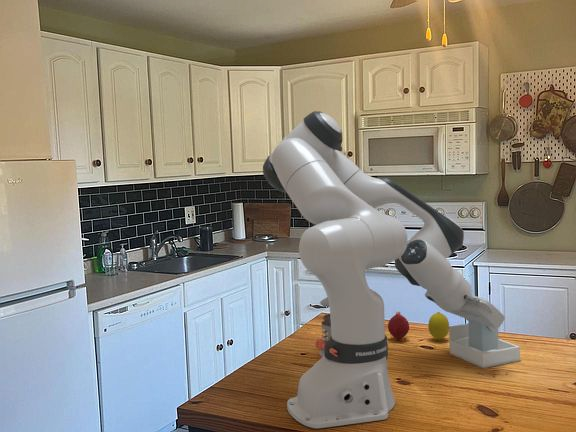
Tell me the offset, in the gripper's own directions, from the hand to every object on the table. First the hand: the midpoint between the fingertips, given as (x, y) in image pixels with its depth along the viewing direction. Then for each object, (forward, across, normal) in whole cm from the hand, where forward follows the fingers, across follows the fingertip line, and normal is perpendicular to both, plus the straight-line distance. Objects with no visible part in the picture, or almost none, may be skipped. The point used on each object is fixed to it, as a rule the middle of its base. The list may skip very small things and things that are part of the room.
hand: (485, 326), depth 147 cm
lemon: (+4, +16, +7) cm, 18 cm away
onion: (-2, +22, +13) cm, 26 cm away
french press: (-16, +20, +28) cm, 38 cm away
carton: (+3, 0, +4) cm, 5 cm away
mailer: (+5, 0, +6) cm, 8 cm away
